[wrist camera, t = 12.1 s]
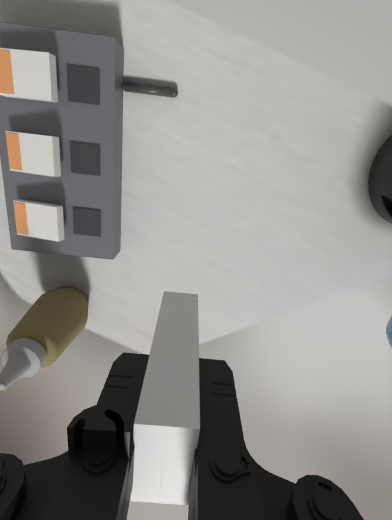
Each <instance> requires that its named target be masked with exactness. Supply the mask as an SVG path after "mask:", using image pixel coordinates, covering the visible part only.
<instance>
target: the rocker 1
mask: <svg viewBox="0 0 392 520" xmlns="http://www.w3.org/2000/svg"><path fill="white" fill-rule="evenodd" d="M0 95H2V96H5V97H11V98H20V99H29V100H39V101H48V102H57V103H58V93H57V74H56V56H54V55H52V54H51V53H49V52H38V51H27V50H17V49H6V48H0Z"/></svg>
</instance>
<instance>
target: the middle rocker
mask: <svg viewBox="0 0 392 520" xmlns="http://www.w3.org/2000/svg"><path fill="white" fill-rule="evenodd" d="M6 140H7V149H8V158H9V166H10V171H17V172H24V173H31V174H38V175H45V176H52V177H59V176H61V167H60V148H59V137H54V136H45V135H37V134H28V133H20V132H11V131H6Z"/></svg>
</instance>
